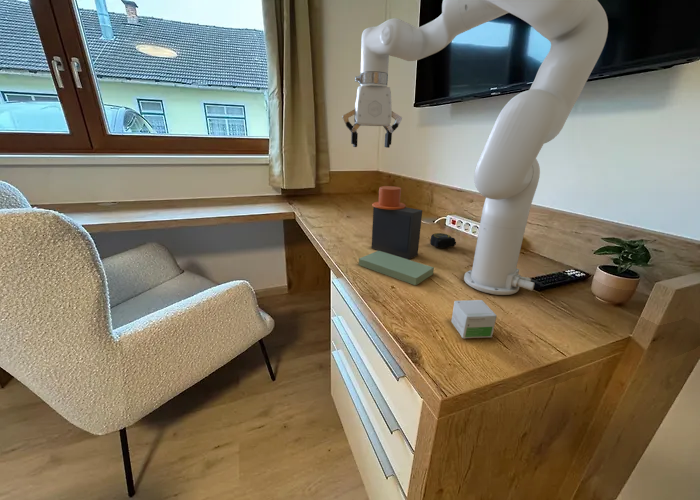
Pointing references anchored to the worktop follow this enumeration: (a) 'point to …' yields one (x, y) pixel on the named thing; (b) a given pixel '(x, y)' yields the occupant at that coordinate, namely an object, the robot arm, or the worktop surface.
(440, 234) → the tape measure
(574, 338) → the worktop surface
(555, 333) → the worktop surface
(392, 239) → the dark upright block
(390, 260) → the stand
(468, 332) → the small box
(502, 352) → the worktop surface
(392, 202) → the hat
